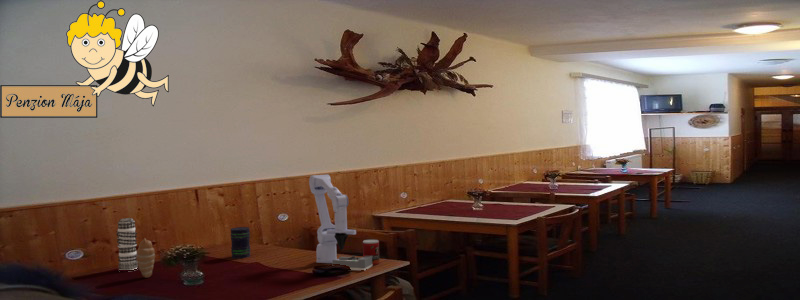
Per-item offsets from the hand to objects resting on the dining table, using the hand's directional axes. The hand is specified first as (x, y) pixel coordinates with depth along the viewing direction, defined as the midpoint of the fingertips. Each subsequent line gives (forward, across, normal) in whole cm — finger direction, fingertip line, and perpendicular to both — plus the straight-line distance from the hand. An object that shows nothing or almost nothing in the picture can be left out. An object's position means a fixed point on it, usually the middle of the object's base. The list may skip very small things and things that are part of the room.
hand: (341, 249), depth 282 cm
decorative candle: (+9, -103, -26) cm, 106 cm away
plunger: (+7, +7, -1) cm, 10 cm away
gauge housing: (+8, +5, 0) cm, 10 cm away
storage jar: (+9, -64, +13) cm, 66 cm away
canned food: (+9, +11, +10) cm, 17 cm away
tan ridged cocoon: (+9, -81, -38) cm, 89 cm away
